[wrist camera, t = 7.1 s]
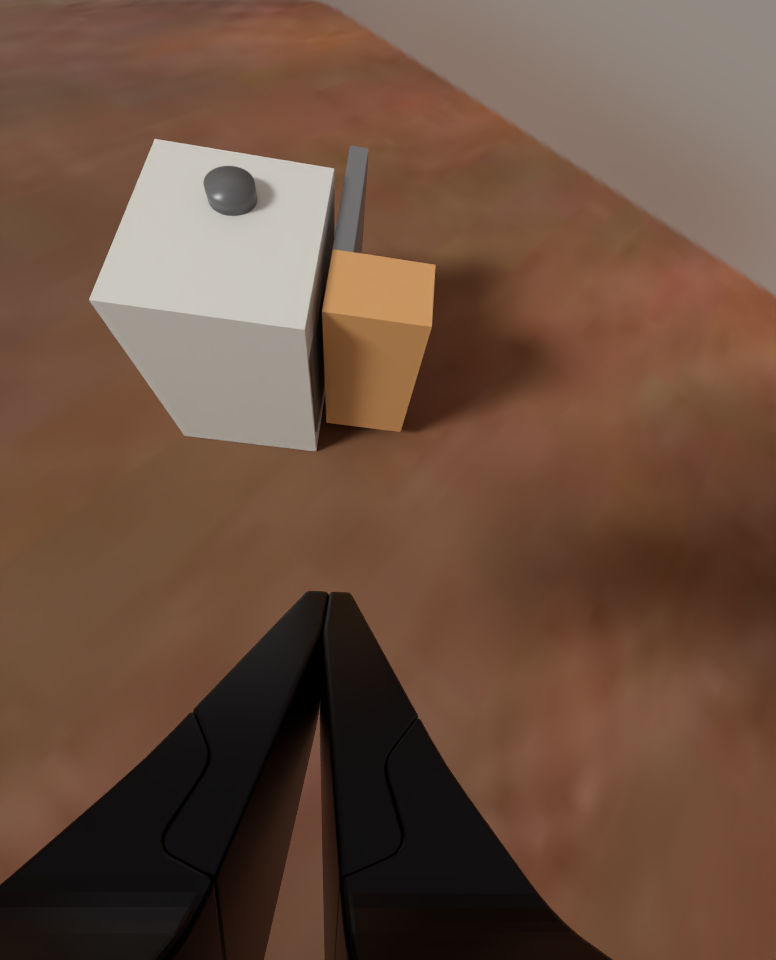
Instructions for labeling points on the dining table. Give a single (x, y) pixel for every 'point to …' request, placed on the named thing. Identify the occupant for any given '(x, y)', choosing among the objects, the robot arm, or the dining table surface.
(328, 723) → the robot arm
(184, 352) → the block
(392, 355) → the side door
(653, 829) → the dining table surface
